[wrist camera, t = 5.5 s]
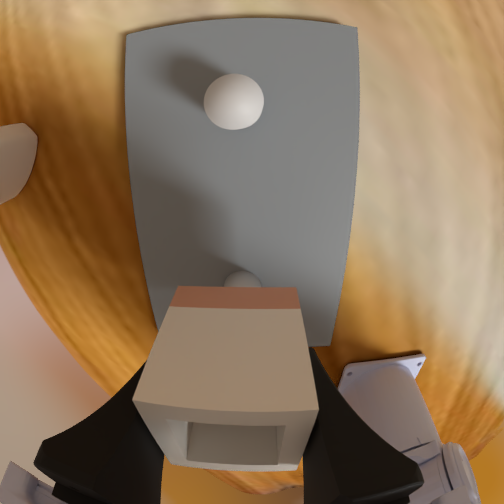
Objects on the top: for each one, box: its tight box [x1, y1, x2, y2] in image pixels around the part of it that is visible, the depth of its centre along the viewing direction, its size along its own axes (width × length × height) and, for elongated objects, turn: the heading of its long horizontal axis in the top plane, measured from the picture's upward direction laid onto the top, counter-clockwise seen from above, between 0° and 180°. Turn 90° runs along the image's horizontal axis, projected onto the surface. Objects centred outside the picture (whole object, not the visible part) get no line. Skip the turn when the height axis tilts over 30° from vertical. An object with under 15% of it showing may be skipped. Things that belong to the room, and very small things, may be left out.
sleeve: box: [132, 286, 319, 471], centre depth 10 cm, size 5×5×6 cm
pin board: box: [125, 18, 360, 347], centre depth 13 cm, size 20×12×4 cm, turn 0°
